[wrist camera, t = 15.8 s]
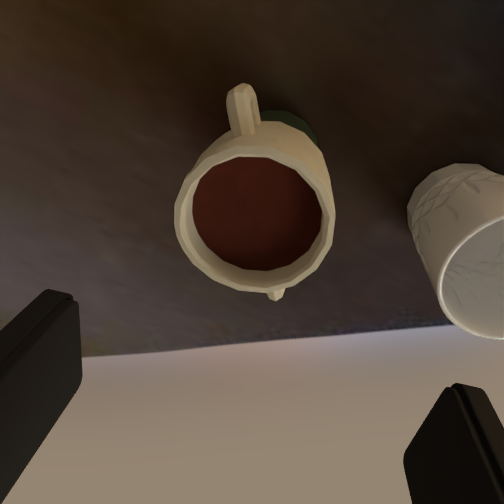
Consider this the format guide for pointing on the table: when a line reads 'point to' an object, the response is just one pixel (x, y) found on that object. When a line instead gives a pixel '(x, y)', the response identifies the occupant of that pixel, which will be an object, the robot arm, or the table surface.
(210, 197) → the character mug
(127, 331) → the table surface
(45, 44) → the table surface
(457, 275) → the white cup
